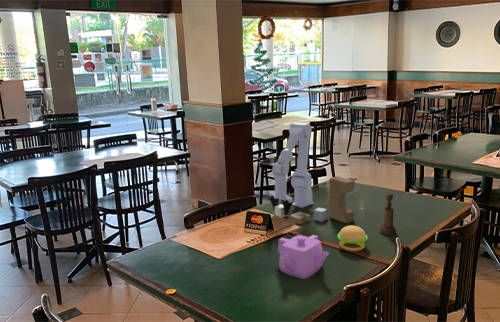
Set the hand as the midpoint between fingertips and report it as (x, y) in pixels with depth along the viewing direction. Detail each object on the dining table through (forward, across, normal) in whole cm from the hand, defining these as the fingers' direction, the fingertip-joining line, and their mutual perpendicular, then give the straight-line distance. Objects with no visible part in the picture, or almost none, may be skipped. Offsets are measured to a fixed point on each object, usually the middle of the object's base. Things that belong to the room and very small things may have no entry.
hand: (281, 212), depth 209 cm
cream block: (+2, 0, 0) cm, 2 cm away
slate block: (+2, +17, +10) cm, 20 cm away
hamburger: (+2, +46, -4) cm, 46 cm away
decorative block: (+2, +24, +17) cm, 29 cm away
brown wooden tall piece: (+2, +48, +19) cm, 52 cm away
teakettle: (+2, +45, -33) cm, 56 cm away
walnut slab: (+2, +11, +2) cm, 11 cm away
